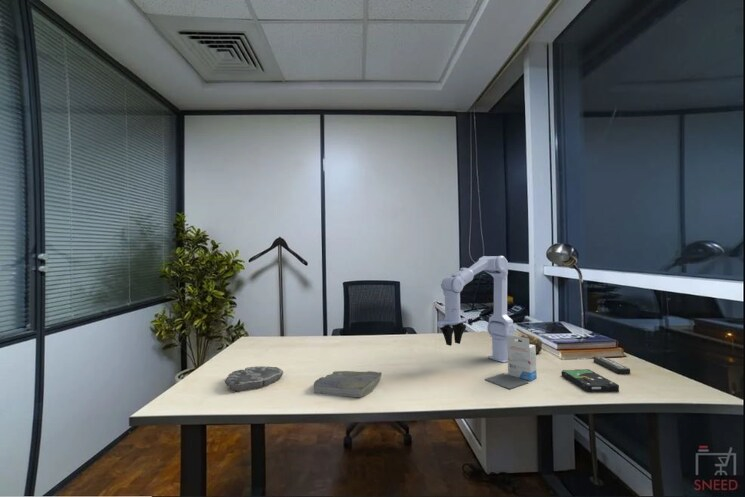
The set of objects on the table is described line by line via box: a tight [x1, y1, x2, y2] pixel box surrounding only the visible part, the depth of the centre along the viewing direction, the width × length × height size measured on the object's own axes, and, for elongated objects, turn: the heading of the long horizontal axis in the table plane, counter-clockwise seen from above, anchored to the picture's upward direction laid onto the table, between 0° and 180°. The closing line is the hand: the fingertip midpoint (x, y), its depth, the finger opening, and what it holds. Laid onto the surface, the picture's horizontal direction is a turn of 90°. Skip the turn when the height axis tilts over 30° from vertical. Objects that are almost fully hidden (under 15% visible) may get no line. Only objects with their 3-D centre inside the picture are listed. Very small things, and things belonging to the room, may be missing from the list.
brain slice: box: [224, 365, 284, 392], centre depth 116 cm, size 20×17×3 cm
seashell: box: [517, 333, 543, 354], centre depth 148 cm, size 11×9×8 cm
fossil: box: [313, 370, 383, 398], centre depth 111 cm, size 20×5×17 cm
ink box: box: [507, 335, 538, 382], centre depth 118 cm, size 8×5×15 cm, turn 39°
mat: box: [484, 373, 529, 390], centre depth 113 cm, size 10×10×1 cm
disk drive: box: [560, 368, 620, 393], centre depth 111 cm, size 10×3×15 cm
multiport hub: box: [593, 356, 631, 375], centre depth 126 cm, size 4×14×2 cm, turn 178°
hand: (453, 344), depth 124 cm, fingers open, 4 cm apart
